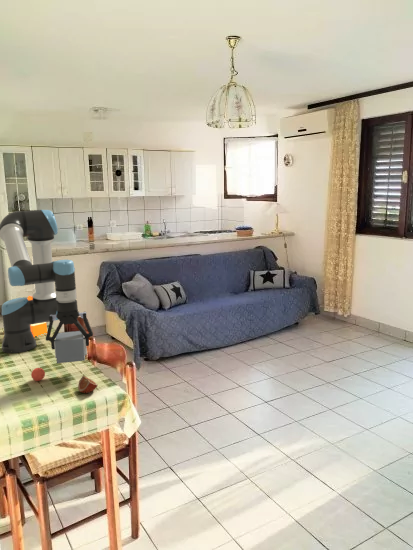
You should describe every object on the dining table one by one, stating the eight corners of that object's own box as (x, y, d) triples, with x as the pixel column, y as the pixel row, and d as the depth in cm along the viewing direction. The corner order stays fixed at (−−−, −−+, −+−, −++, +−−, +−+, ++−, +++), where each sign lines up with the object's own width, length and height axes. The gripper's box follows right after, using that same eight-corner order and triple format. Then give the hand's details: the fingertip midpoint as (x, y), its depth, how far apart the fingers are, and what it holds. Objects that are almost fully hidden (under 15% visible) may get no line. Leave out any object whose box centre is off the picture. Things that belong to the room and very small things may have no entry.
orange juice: (33, 337, 229) (29, 299, 226) (25, 334, 235) (21, 297, 231) (47, 333, 235) (44, 296, 231) (39, 330, 241) (35, 294, 237)
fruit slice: (75, 389, 165) (74, 376, 164) (93, 385, 169) (92, 372, 168) (82, 398, 158) (81, 384, 157) (101, 393, 162) (99, 380, 161)
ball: (32, 378, 176) (31, 366, 176) (46, 377, 178) (45, 365, 177) (31, 383, 172) (29, 371, 171) (44, 382, 173) (43, 369, 172)
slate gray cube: (59, 354, 180) (57, 333, 178) (85, 351, 182) (83, 330, 181) (56, 363, 170) (54, 341, 169) (84, 360, 173) (82, 338, 171)
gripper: (33, 305, 166) (39, 361, 170) (97, 300, 171) (101, 355, 175) (36, 300, 173) (41, 354, 177) (97, 295, 178) (101, 348, 182)
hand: (71, 355), depth 176 cm, fingers closed on slate gray cube, 10 cm apart
